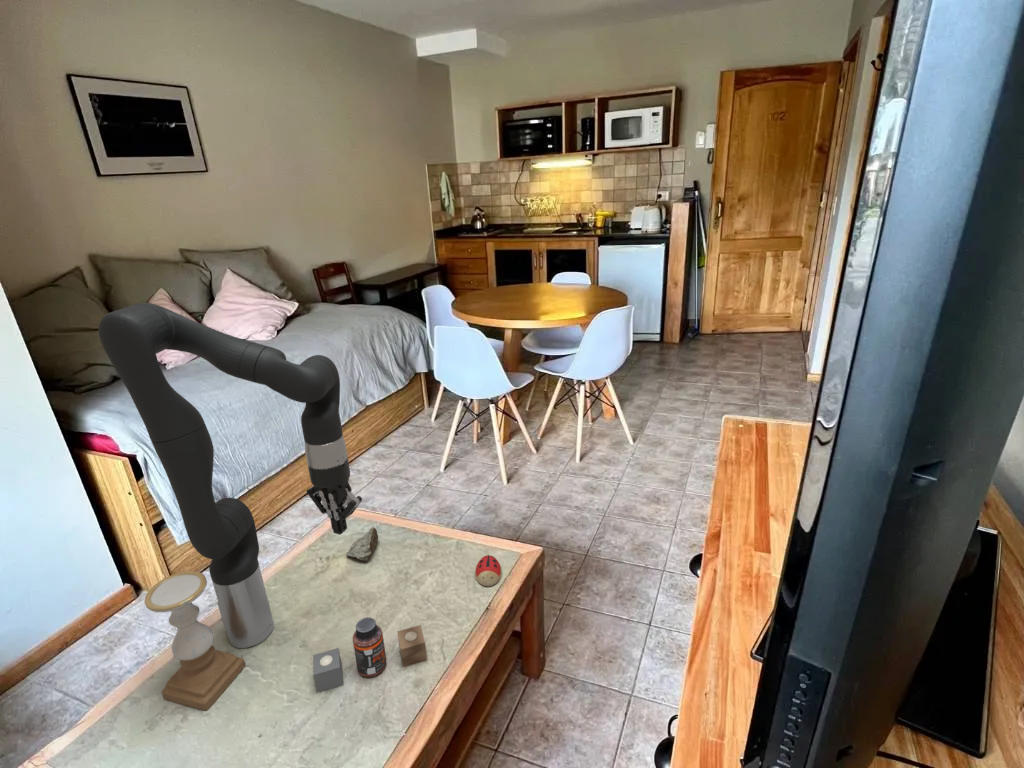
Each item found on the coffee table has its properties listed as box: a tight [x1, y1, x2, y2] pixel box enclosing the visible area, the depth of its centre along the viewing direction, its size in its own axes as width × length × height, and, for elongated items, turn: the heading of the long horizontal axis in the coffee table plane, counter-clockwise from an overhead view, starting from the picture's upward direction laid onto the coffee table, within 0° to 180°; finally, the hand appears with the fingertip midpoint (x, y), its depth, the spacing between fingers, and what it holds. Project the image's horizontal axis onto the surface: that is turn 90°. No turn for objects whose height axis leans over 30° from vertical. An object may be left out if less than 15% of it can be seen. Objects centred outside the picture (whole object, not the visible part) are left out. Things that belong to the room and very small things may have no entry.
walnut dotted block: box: [396, 624, 428, 668], centre depth 114 cm, size 5×5×5 cm
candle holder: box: [144, 570, 246, 711], centre depth 106 cm, size 11×11×24 cm
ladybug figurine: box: [474, 554, 502, 587], centre depth 137 cm, size 7×10×4 cm
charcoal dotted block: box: [312, 647, 344, 694], centre depth 109 cm, size 5×5×5 cm
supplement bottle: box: [352, 616, 387, 678], centre depth 111 cm, size 6×6×11 cm
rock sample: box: [345, 526, 379, 562], centre depth 146 cm, size 10×8×9 cm
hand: (340, 531), depth 112 cm, fingers closed
